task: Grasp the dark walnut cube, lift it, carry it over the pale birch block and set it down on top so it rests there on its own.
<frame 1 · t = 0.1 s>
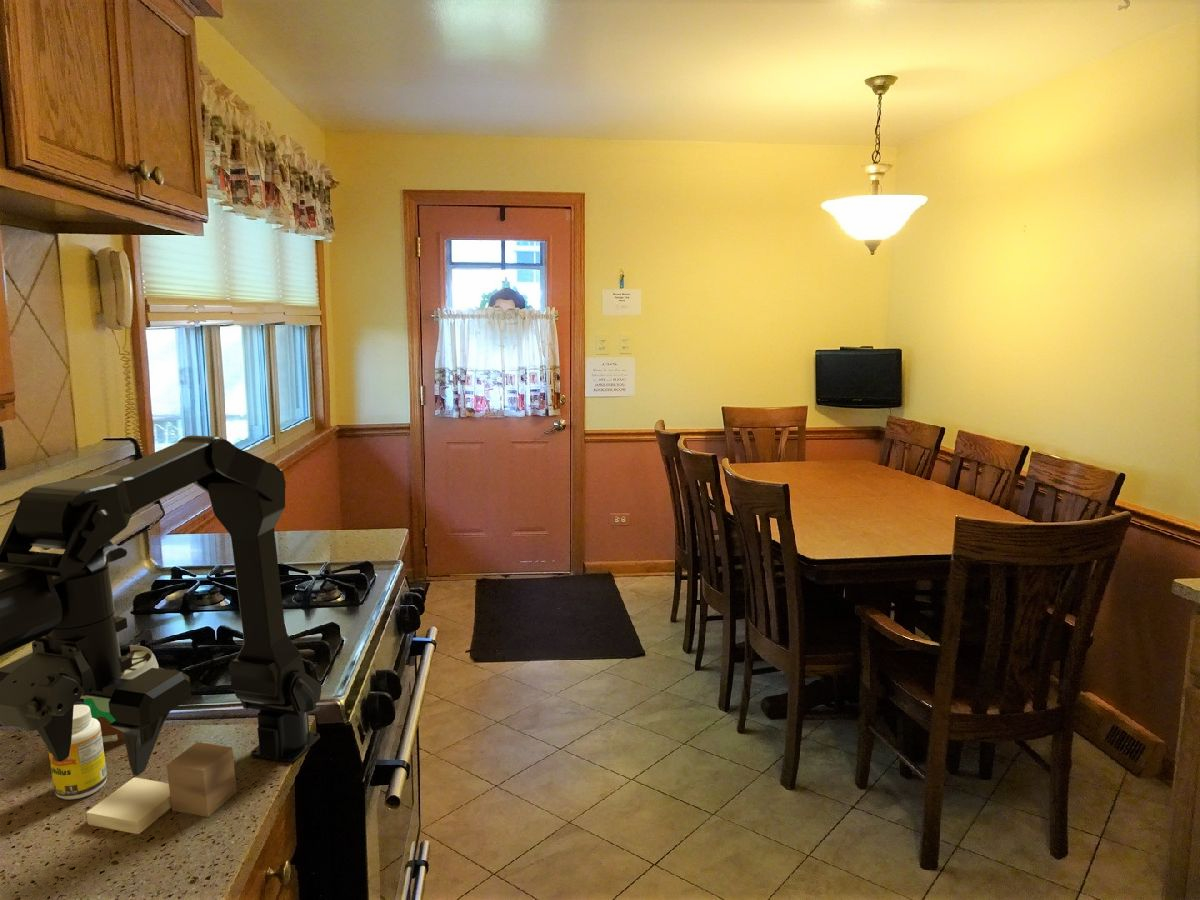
hand: (100, 766, 80), 15 cm above the countertop, fingers open, 9 cm apart
birch block: (137, 813, 97), on the countertop
food container: (137, 730, 115), on the countertop
supplement bottle: (82, 789, 101), on the countertop
walnut cube: (204, 801, 99), on the countertop
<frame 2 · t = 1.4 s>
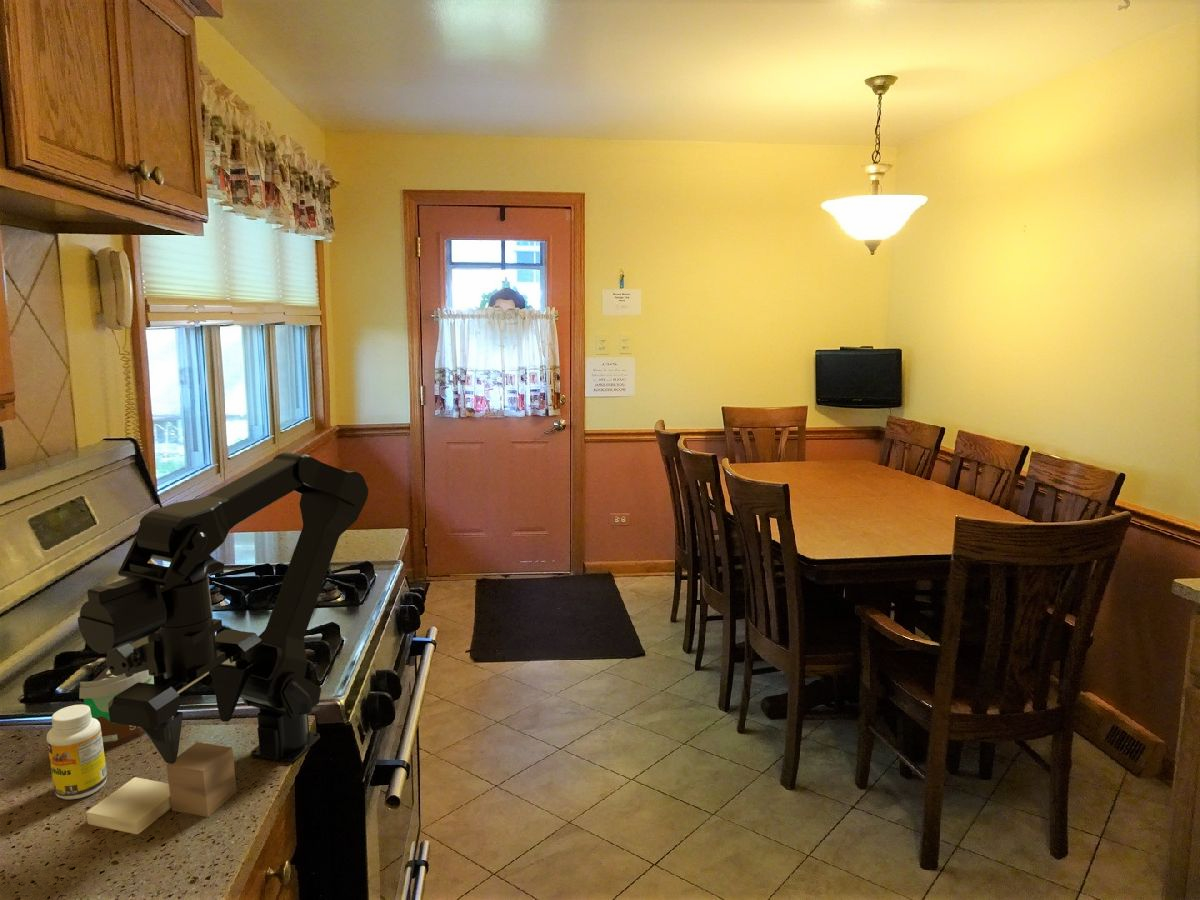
hand: (199, 740, 97), 8 cm above the countertop, fingers open, 9 cm apart
nothing on the countertop moved.
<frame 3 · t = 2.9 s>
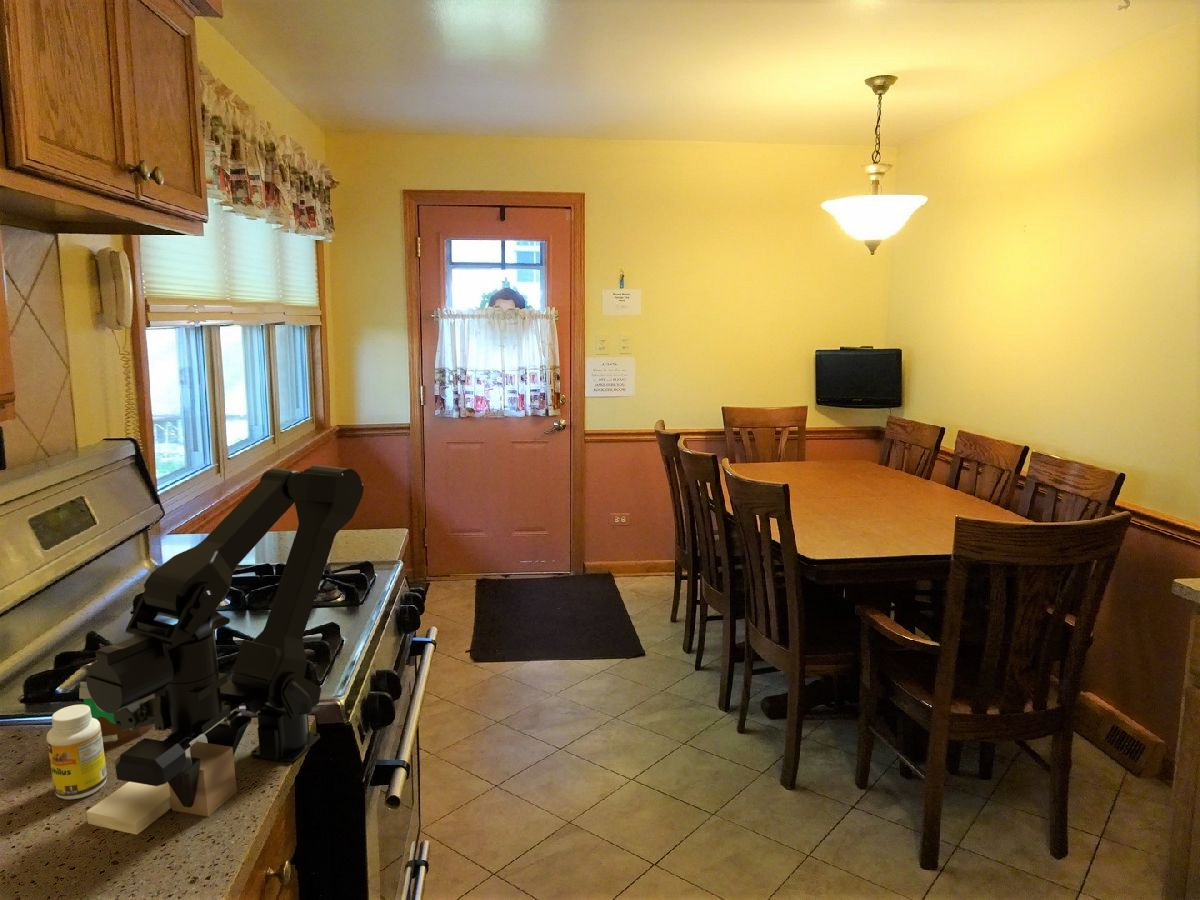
hand: (204, 792, 99), 1 cm above the countertop, fingers closed on walnut cube, 5 cm apart
walnut cube: (205, 800, 99), on the countertop, touching gripper
everything else where it was.
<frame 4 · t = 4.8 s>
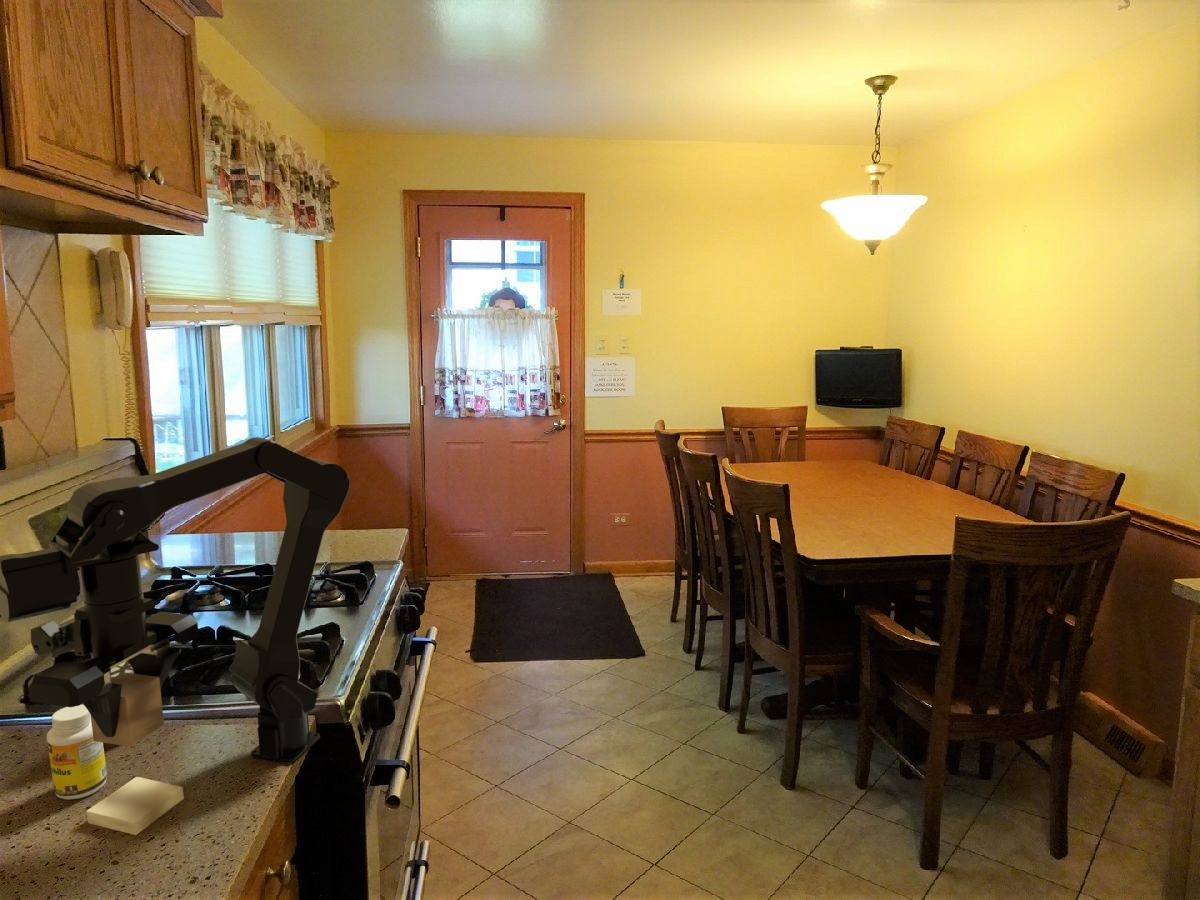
hand: (128, 724, 95), 11 cm above the countertop, fingers closed on walnut cube, 5 cm apart
walnut cube: (129, 732, 95), point 10 cm above the countertop, touching gripper
everything else where it was.
when the fingers open (4 cm above the countertop, at t = 6.9 s): walnut cube drops 2 cm, resting on birch block.
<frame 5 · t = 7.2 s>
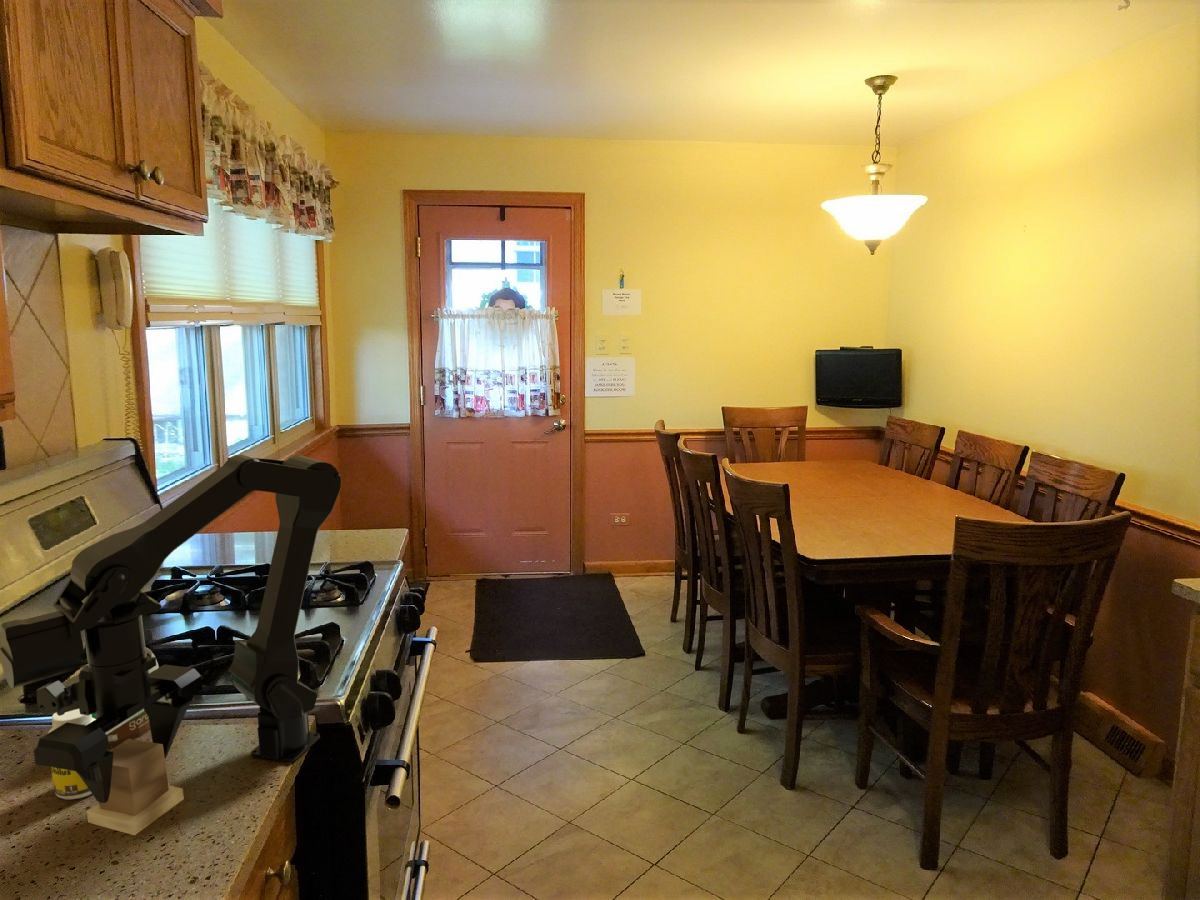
hand: (133, 779, 96), 4 cm above the countertop, fingers open, 8 cm apart
birch block: (137, 814, 97), on the countertop, touching walnut cube
walnut cube: (135, 799, 97), point 1 cm above the countertop, touching birch block
everything else where it was.
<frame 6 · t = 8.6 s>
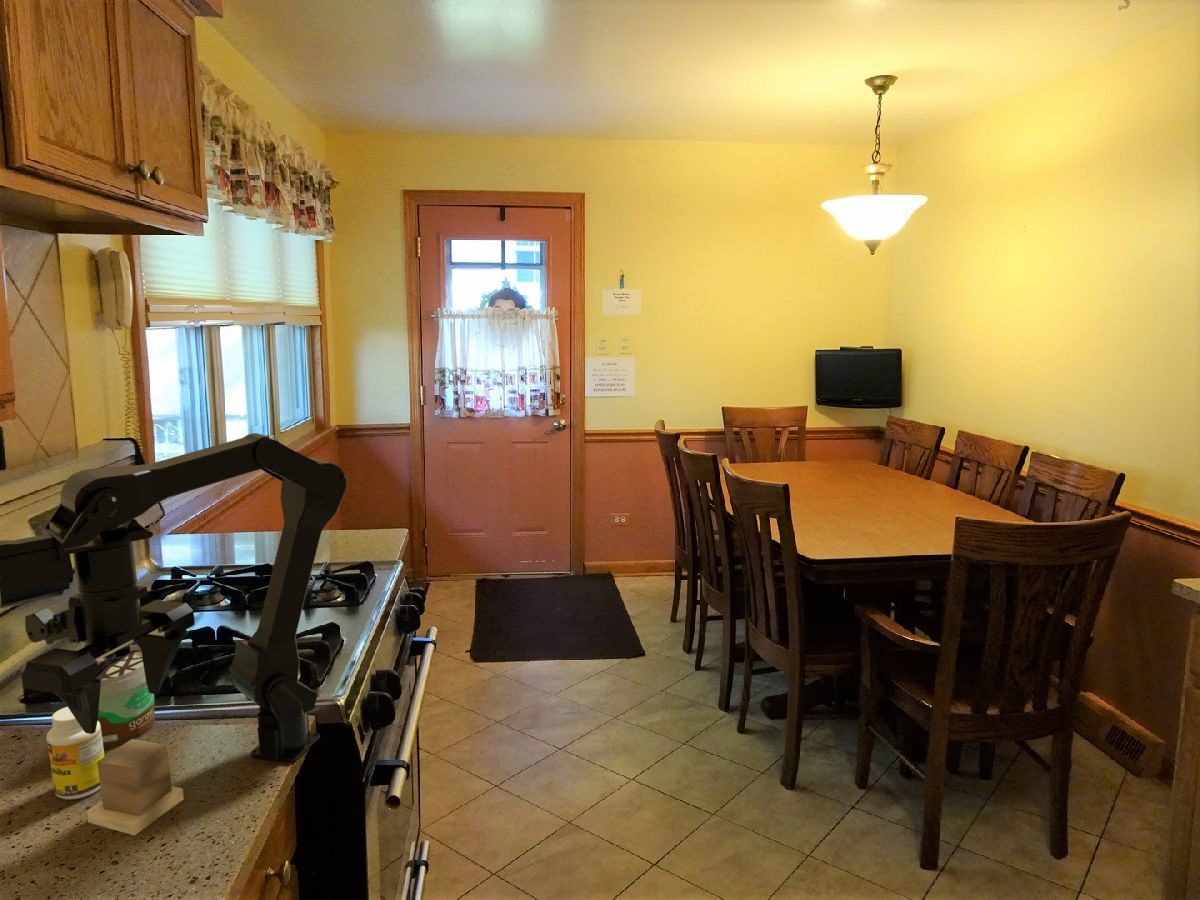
hand: (123, 712, 94), 13 cm above the countertop, fingers open, 9 cm apart
nothing on the countertop moved.
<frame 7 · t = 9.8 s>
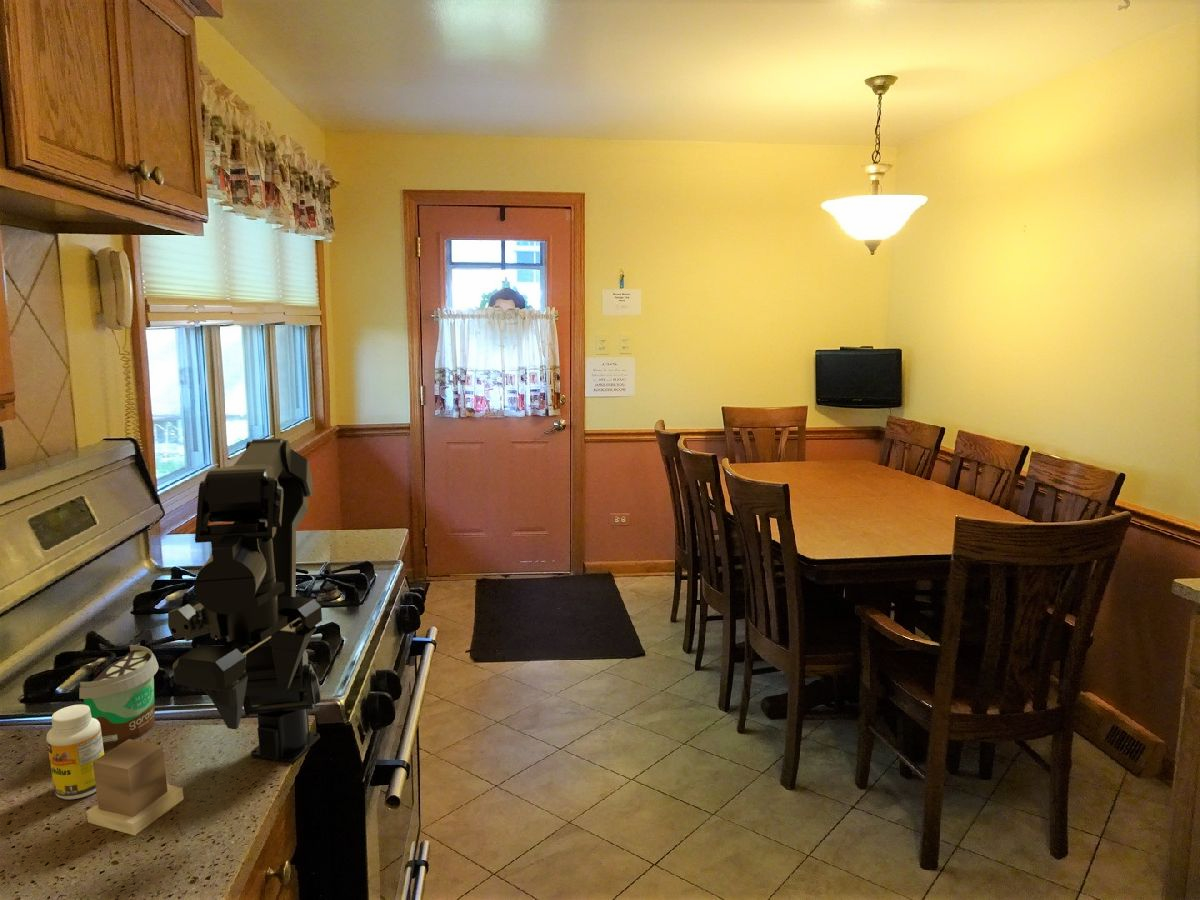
hand: (259, 707, 95), 13 cm above the countertop, fingers open, 9 cm apart
nothing on the countertop moved.
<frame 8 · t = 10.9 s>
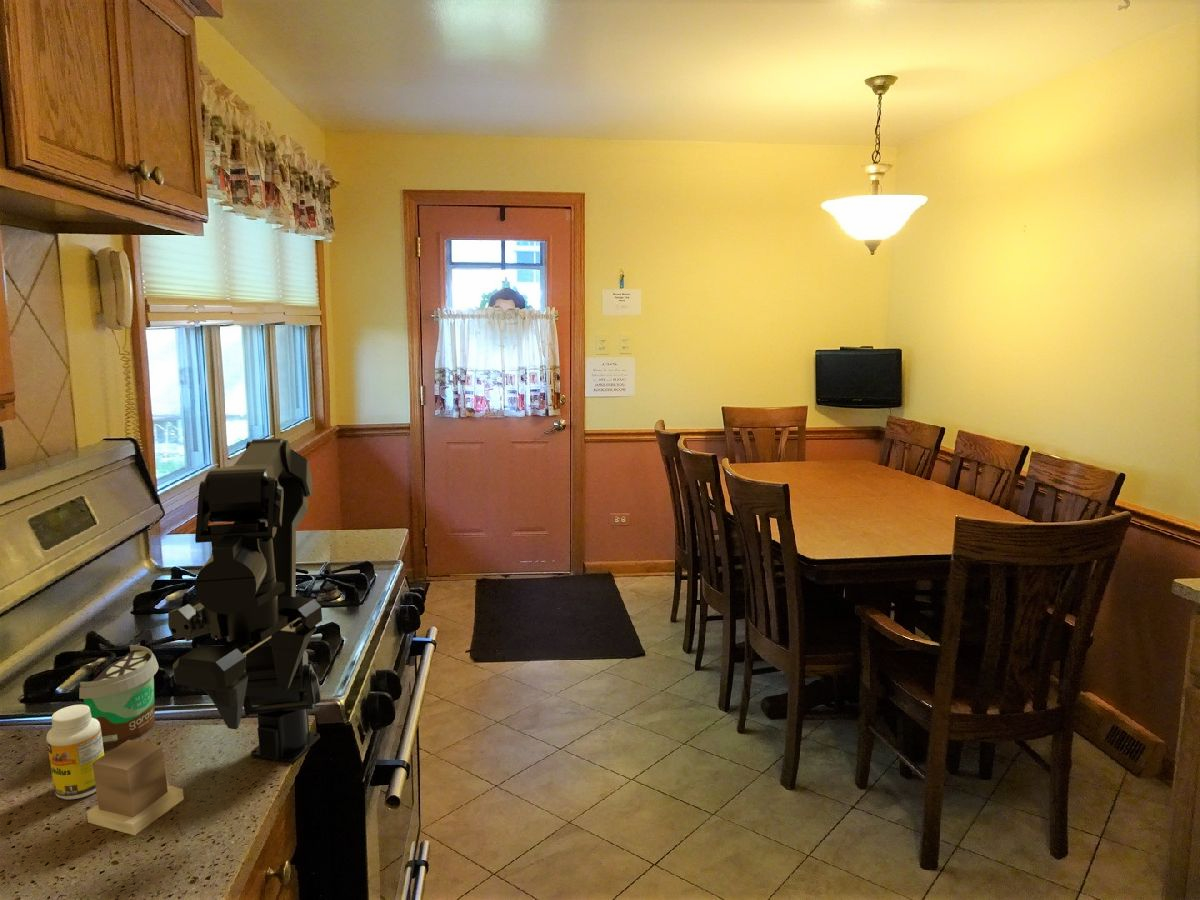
hand: (259, 707, 95), 13 cm above the countertop, fingers open, 9 cm apart
nothing on the countertop moved.
at the end: walnut cube 0.2 cm from the birch block (horizontally); walnut cube point 1.3 cm above the countertop; walnut cube tilted 0° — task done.
